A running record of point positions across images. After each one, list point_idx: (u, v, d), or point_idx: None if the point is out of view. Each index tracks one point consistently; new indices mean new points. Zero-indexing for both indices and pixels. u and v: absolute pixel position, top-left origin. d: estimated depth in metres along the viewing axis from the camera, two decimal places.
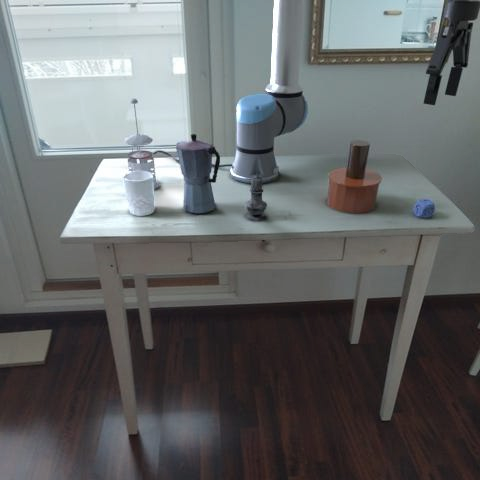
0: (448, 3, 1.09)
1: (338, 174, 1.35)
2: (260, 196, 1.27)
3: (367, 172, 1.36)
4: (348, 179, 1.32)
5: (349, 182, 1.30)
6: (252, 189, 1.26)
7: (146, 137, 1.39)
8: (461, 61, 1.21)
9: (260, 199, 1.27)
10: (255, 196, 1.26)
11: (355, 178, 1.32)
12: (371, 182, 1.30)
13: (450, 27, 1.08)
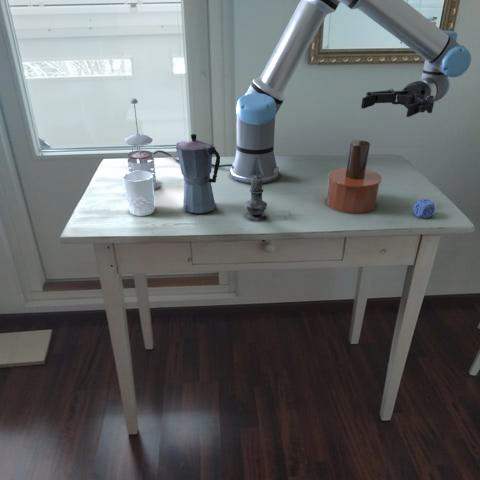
0: (428, 87, 1.41)
1: (338, 174, 1.35)
2: (260, 196, 1.27)
3: (367, 172, 1.36)
4: (348, 179, 1.32)
5: (349, 182, 1.30)
6: (252, 189, 1.26)
7: (146, 137, 1.39)
8: (378, 102, 1.40)
9: (260, 199, 1.27)
10: (255, 196, 1.26)
11: (355, 178, 1.32)
12: (371, 182, 1.30)
13: None
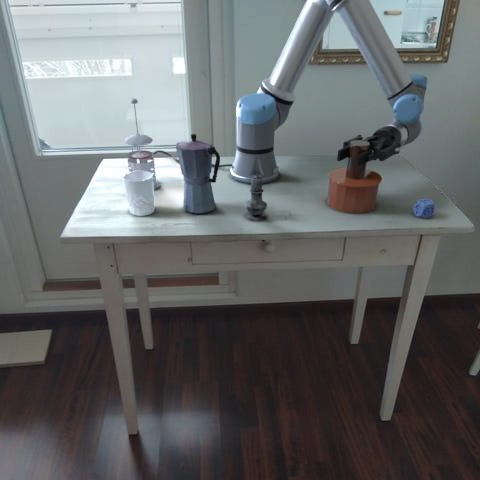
0: (398, 133, 1.38)
1: (338, 174, 1.35)
2: (260, 196, 1.27)
3: (367, 172, 1.36)
4: (348, 179, 1.32)
5: (349, 182, 1.30)
6: (252, 189, 1.26)
7: (146, 137, 1.39)
8: None
9: (260, 199, 1.27)
10: (255, 196, 1.26)
11: (355, 178, 1.32)
12: (371, 182, 1.30)
13: (399, 151, 1.34)
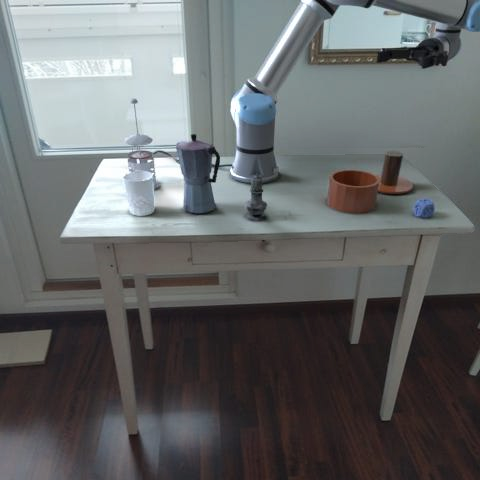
0: (441, 44, 1.43)
1: None
2: (260, 196, 1.27)
3: (399, 179, 1.51)
4: (383, 186, 1.46)
5: (384, 189, 1.44)
6: (252, 189, 1.26)
7: (146, 137, 1.39)
8: (392, 57, 1.42)
9: (260, 199, 1.27)
10: (255, 196, 1.26)
11: (389, 185, 1.46)
12: (404, 188, 1.45)
13: None
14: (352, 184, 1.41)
